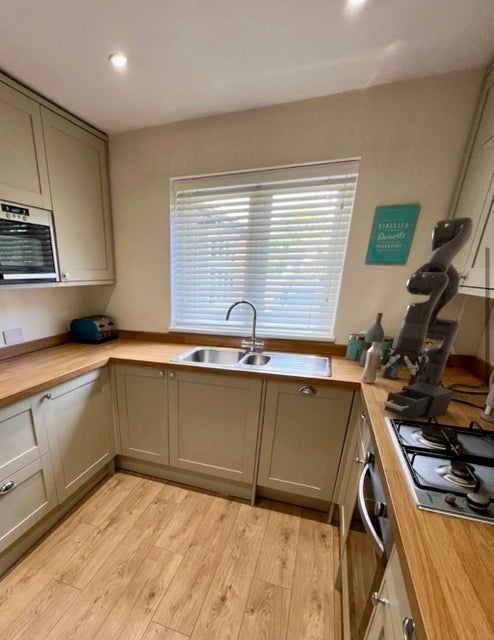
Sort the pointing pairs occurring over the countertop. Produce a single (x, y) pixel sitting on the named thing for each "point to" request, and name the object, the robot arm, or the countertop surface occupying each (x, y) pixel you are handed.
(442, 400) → the cabinet
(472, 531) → the countertop surface
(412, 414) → the drawer
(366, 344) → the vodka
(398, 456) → the countertop surface
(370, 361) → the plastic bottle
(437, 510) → the countertop surface
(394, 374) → the snack cup
